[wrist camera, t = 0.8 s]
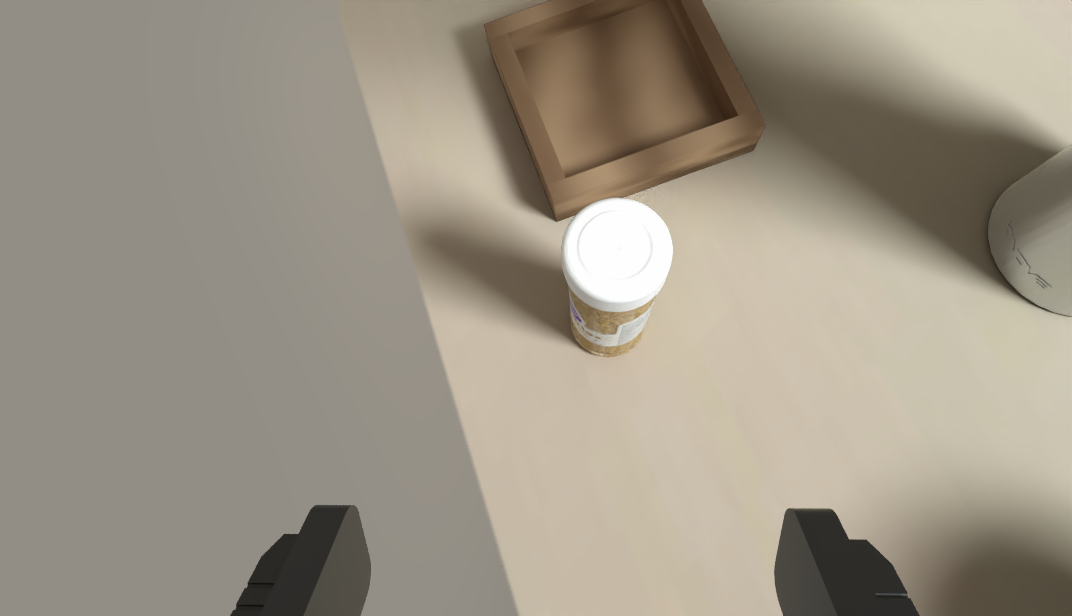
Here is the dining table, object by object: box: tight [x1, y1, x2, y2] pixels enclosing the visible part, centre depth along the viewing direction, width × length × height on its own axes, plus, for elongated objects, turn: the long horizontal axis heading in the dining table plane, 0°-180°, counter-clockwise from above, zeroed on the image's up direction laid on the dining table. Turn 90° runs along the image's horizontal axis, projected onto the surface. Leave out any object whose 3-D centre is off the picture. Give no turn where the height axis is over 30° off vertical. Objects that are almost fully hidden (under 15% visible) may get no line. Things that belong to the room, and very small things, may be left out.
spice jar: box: [561, 198, 673, 357], centre depth 32 cm, size 5×5×13 cm
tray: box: [484, 0, 766, 221], centre depth 40 cm, size 13×13×3 cm
